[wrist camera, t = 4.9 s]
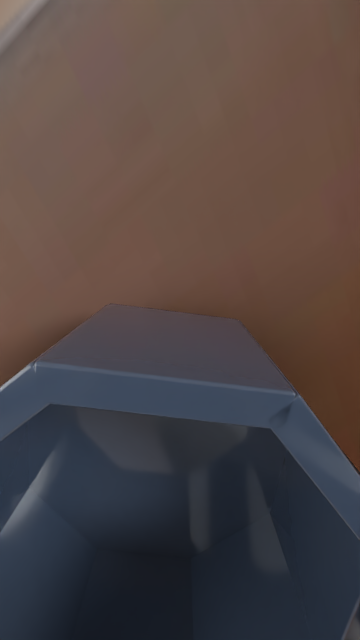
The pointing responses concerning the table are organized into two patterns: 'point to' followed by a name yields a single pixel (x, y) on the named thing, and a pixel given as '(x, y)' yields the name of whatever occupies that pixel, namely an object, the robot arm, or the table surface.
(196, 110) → the table surface
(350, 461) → the robot arm
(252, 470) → the bowl
